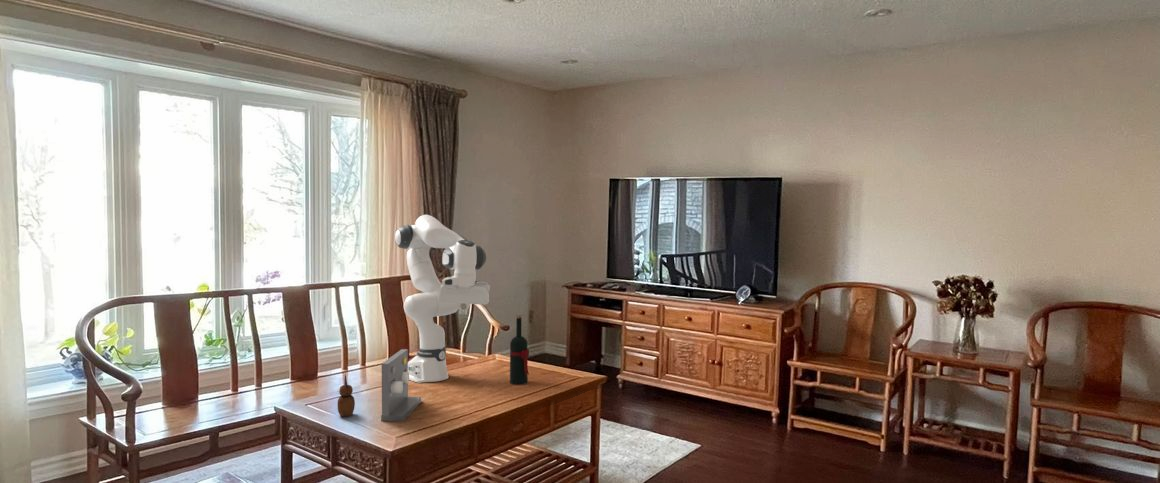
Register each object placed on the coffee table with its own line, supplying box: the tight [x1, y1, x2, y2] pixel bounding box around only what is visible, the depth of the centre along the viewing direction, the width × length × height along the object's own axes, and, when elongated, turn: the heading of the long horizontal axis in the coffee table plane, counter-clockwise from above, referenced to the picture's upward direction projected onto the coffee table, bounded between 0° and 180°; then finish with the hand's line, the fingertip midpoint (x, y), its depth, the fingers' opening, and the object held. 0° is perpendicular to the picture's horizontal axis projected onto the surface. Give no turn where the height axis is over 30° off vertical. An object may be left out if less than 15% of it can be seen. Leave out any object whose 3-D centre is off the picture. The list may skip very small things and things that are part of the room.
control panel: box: [380, 348, 422, 422], centre depth 250 cm, size 8×24×21 cm, turn 178°
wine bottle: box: [509, 314, 530, 386], centre depth 291 cm, size 8×10×30 cm
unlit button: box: [391, 381, 403, 394], centre depth 243 cm, size 3×4×4 cm
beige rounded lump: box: [402, 372, 410, 384], centre depth 257 cm, size 3×4×4 cm
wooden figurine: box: [337, 373, 356, 418], centre depth 244 cm, size 7×6×15 cm
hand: (463, 314), depth 269 cm, fingers closed
